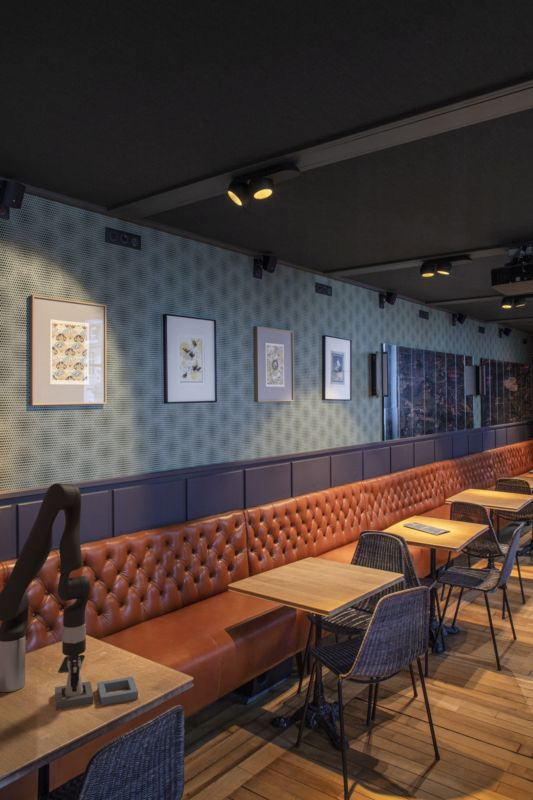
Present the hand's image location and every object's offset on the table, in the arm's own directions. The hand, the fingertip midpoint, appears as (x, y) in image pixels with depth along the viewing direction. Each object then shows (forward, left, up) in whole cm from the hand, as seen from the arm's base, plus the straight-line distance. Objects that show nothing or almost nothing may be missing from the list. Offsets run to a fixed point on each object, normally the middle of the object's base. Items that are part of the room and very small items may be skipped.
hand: (73, 689), depth 195 cm
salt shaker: (0, 0, -3) cm, 3 cm away
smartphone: (+1, +30, -4) cm, 30 cm away
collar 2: (+14, -2, -3) cm, 14 cm away
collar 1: (0, 0, -3) cm, 3 cm away
